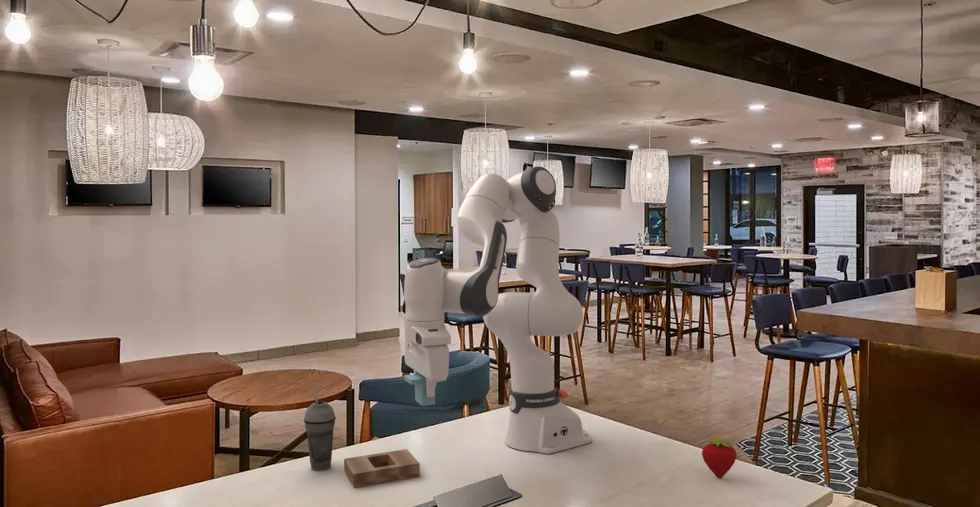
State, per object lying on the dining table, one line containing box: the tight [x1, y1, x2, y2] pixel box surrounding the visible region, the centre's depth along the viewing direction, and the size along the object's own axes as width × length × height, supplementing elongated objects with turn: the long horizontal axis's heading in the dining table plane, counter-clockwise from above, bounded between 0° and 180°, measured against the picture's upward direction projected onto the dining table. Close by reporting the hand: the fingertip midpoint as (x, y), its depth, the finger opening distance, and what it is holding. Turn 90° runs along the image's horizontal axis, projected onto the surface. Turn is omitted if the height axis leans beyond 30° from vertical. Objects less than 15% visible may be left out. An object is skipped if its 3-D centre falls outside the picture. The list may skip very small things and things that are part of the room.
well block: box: [343, 448, 421, 488], centre depth 151 cm, size 15×10×3 cm, turn 114°
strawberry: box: [701, 432, 738, 479], centre depth 147 cm, size 6×8×10 cm
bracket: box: [403, 373, 436, 407], centre depth 147 cm, size 6×5×6 cm
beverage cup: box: [303, 382, 337, 472], centre depth 155 cm, size 7×7×20 cm
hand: (425, 392), depth 148 cm, fingers closed on bracket, 5 cm apart
